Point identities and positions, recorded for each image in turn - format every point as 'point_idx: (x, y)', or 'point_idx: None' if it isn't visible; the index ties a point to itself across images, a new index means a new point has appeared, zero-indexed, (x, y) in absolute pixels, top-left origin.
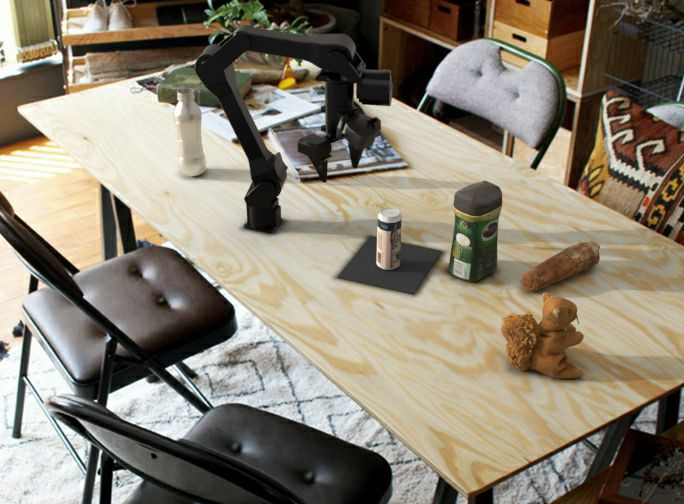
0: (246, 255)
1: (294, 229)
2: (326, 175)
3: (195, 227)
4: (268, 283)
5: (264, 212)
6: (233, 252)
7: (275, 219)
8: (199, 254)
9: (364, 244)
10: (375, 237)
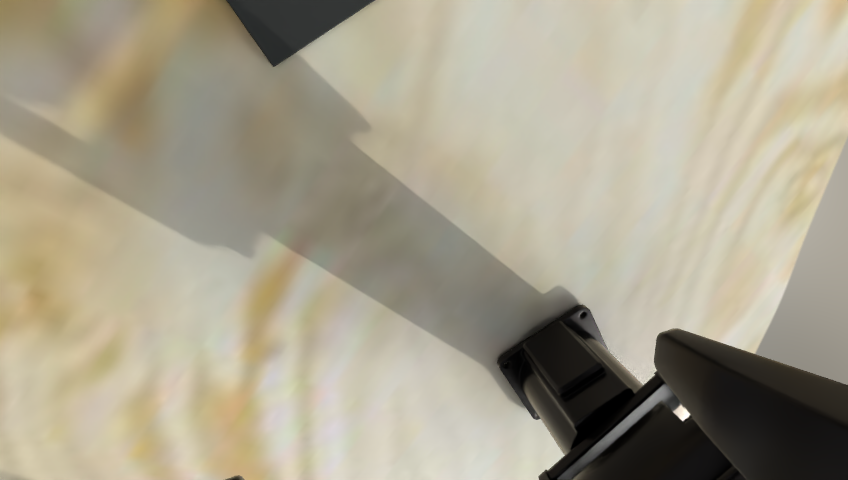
0: (716, 221)
1: (502, 295)
2: (750, 367)
3: None
4: (819, 9)
5: (624, 372)
6: (723, 256)
7: (580, 340)
8: (775, 289)
9: (353, 3)
10: (254, 30)
